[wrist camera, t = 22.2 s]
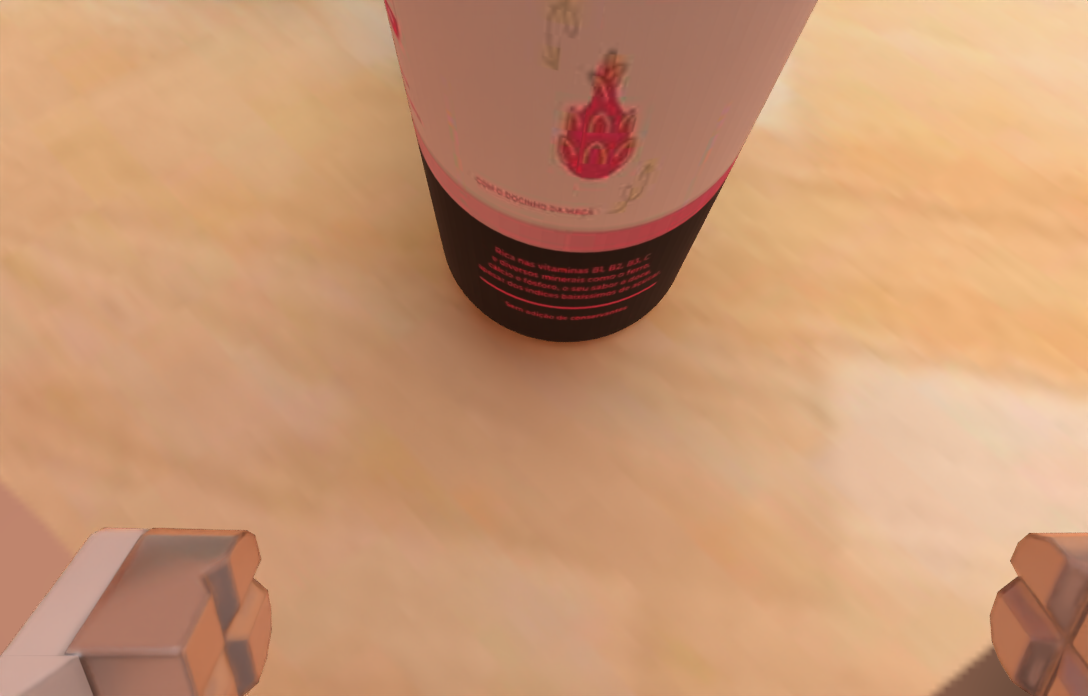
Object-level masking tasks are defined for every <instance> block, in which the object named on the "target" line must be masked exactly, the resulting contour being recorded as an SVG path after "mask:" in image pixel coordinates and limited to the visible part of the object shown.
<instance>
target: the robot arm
mask: <svg viewBox="0 0 1088 696" xmlns="http://www.w3.org/2000/svg"><path fill="white" fill-rule="evenodd" d="M260 561H261V556H260V552H259V548H258V544H257V540H256V536H255V535H254V534H252V533H251V532H249V531H247V530H212V529H175V528H152V529H136V528H102V529H101V530H99V531H97V532H95V533H93V534H91V535H90V536H89V537H88V538H87V540H86V541H85V542H84V544H83V545H82V546H81V548H80V549H79V550H78V552H77V553H76V555H75V556H74V557H73V559H72V560H71V561H70V563H69V564H68V565H67V567H66V568H65V569H64V571H63V572H62V573H61V575H60V576H59V577H58V579H57V580H56V581H55V583H54V584H53V586H52V587H51V588H50V590H49V591H48V593H47V594H46V595H45V596H44V598H43V599H42V600H41V602H40V603H39V604H38V606H37V607H36V608H35V610H34V611H33V612H32V614H31V615H30V617H29V618H28V619H27V620H26V622H25V623H24V625H23V626H22V627H21V629H20V630H19V631H18V633H17V634H16V635H15V637H14V638H13V639H12V641H11V642H10V643H9V645H8V646H7V647H6V649H5V650H4V651H3V653H2V654H1V655H0V696H243V695H244V694H246V693H247V692H248V691H249V690H250V689H251V688H253V687H254V686H255V685H256V684H257V683H258V682H259V680H260V677H261V674H262V671H263V668H264V665H265V662H266V659H267V655H268V649H269V643H270V637H271V630H272V621H271V604H270V599H269V594H268V590H267V589H265V588H264V587H263V586H262V585H261V584H260V583H259V582H258V581H256V580H255V579H254V575H255V573H256V570H257V568H258V566H259V563H260ZM1010 562H1011V564H1012V565H1013V567H1014V569H1015V571H1016V573H1017V575H1018V577H1017V578H1015V579H1014V580H1013V581H1011V582H1010V583H1009V584H1007V585H1006V586H1005V587H1003V588H1002V589H1001V590H1000V591H998V593H997V596H996V598H995V601H994V604H993V607H992V610H991V613H990V624H991V637H992V643H993V645H994V648H995V651H996V654H997V656H998V659H999V661H1000V663H1001V665H1002V666H1003V668H1004V670H1005V671H1006V673H1007V674H1008V676H1009V678H1010V679H1011V681H1012V682H1013V683H1015V684H1016V685H1017V686H1019V687H1020V688H1022V689H1023V690H1024V691H1026V692H1027V693H1029V694H1030V695H1032V696H1088V533H1029V534H1028V535H1027V536H1025V537H1024V538H1023V539H1022V540H1021V541H1020V542H1018V544H1017V546H1016V549H1015V551H1014V553H1013V556H1012V558H1011V560H1010Z"/></svg>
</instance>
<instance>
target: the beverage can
mask: <svg viewBox="0 0 1088 696" xmlns="http://www.w3.org/2000/svg"><path fill="white" fill-rule="evenodd" d="M817 1H818V0H384V3H385V7H386V11H387V15H388V19H389V23H390V28H391V32H392V36H393V40H394V44H395V49H396V53H397V57H398V61H399V65H400V69H401V74H402V78H403V82H404V86H405V90H406V94H407V99H408V103H409V107H410V111H411V115H412V120H413V124H414V128H415V132H416V136H417V140H418V145H419V149H420V153H421V157H422V161H423V165H424V170H425V174H426V178H427V182H428V186H429V191H430V195H431V199H432V203H433V207H434V211H435V216H436V220H437V224H438V228H439V232H440V237H441V241H442V245H443V249H444V253H445V257H446V260H447V263H448V265H449V268H450V270H451V272H452V274H453V277H454V278H455V280H456V282H457V284H458V285H459V287H460V288H461V289H462V291H463V292H464V294H465V295H466V296H467V297H468V298H469V300H470V301H471V302H472V303H473V304H474V305H475V306H476V307H477V308H478V309H479V310H481V311H482V312H483V313H484V314H485V315H487V316H488V317H489V318H491V319H492V320H494V321H495V322H497V323H499V324H500V325H502V326H504V327H506V328H508V329H510V330H512V331H514V332H517V333H519V334H522V335H525V336H528V337H532V338H536V339H541V340H546V341H555V342H578V341H586V340H591V339H596V338H600V337H604V336H607V335H610V334H612V333H615V332H617V331H620V330H622V329H624V328H626V327H628V326H629V325H631V324H633V323H635V322H636V321H638V320H639V319H641V318H642V317H643V316H644V315H646V314H647V313H648V312H649V311H650V310H651V309H653V308H654V307H655V306H656V305H657V303H658V302H659V301H660V300H661V299H662V298H663V296H664V295H665V294H666V293H667V291H668V290H669V288H670V287H671V285H672V283H673V281H674V279H675V278H676V276H677V274H678V272H679V270H680V268H681V266H682V264H683V262H684V260H685V258H686V256H687V254H688V252H689V250H690V248H691V246H692V244H693V242H694V241H695V239H696V237H697V235H698V233H699V231H700V229H701V227H702V225H703V223H704V221H705V219H706V217H707V215H708V213H709V211H710V209H711V207H712V205H713V203H714V202H715V200H716V198H717V196H718V194H719V192H720V190H721V188H722V186H723V184H724V182H725V180H726V178H727V176H728V174H729V172H730V170H731V168H732V166H733V164H734V163H735V161H736V159H737V157H738V155H739V153H740V151H741V149H742V147H743V145H744V143H745V141H746V139H747V137H748V135H749V133H750V131H751V129H752V127H753V125H754V124H755V122H756V120H757V118H758V116H759V114H760V112H761V110H762V108H763V106H764V104H765V102H766V100H767V98H768V96H769V94H770V92H771V90H772V88H773V87H774V85H775V83H776V81H777V79H778V77H779V75H780V73H781V71H782V69H783V67H784V65H785V63H786V61H787V59H788V57H789V55H790V53H791V51H792V49H793V48H794V46H795V44H796V42H797V40H798V38H799V36H800V34H801V32H802V30H803V28H804V26H805V24H806V22H807V20H808V18H809V16H810V14H811V12H812V10H813V9H814V7H815V5H816V3H817Z"/></svg>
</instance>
